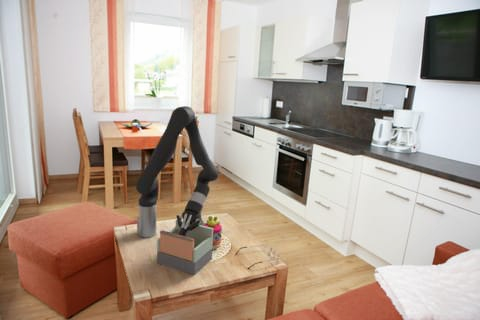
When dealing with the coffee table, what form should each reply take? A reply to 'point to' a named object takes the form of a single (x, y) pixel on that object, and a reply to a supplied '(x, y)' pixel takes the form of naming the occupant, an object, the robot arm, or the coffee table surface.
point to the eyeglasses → (265, 248)
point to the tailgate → (176, 245)
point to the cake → (215, 231)
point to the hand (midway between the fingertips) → (180, 237)
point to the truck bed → (200, 251)
